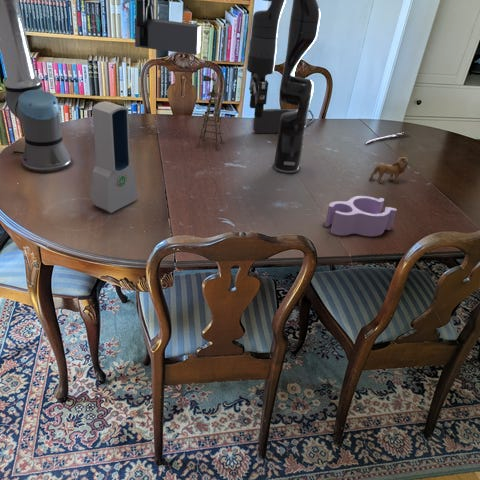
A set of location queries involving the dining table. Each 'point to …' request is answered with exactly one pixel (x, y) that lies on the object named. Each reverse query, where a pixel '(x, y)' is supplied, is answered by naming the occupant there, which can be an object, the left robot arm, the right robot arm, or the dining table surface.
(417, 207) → the dining table surface
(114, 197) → the electronic device
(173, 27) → the bar
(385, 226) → the clip
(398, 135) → the sword
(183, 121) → the dining table surface
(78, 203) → the dining table surface
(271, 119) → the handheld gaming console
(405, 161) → the lion figurine
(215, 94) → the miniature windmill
